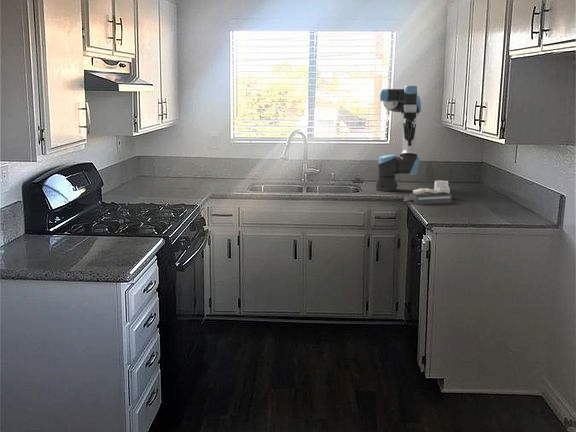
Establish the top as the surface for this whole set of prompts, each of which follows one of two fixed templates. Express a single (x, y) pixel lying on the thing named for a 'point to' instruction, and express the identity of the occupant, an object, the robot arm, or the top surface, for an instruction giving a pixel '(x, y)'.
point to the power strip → (430, 198)
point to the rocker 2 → (431, 190)
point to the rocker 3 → (442, 190)
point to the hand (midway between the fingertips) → (408, 151)
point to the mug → (441, 185)
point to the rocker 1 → (419, 191)
